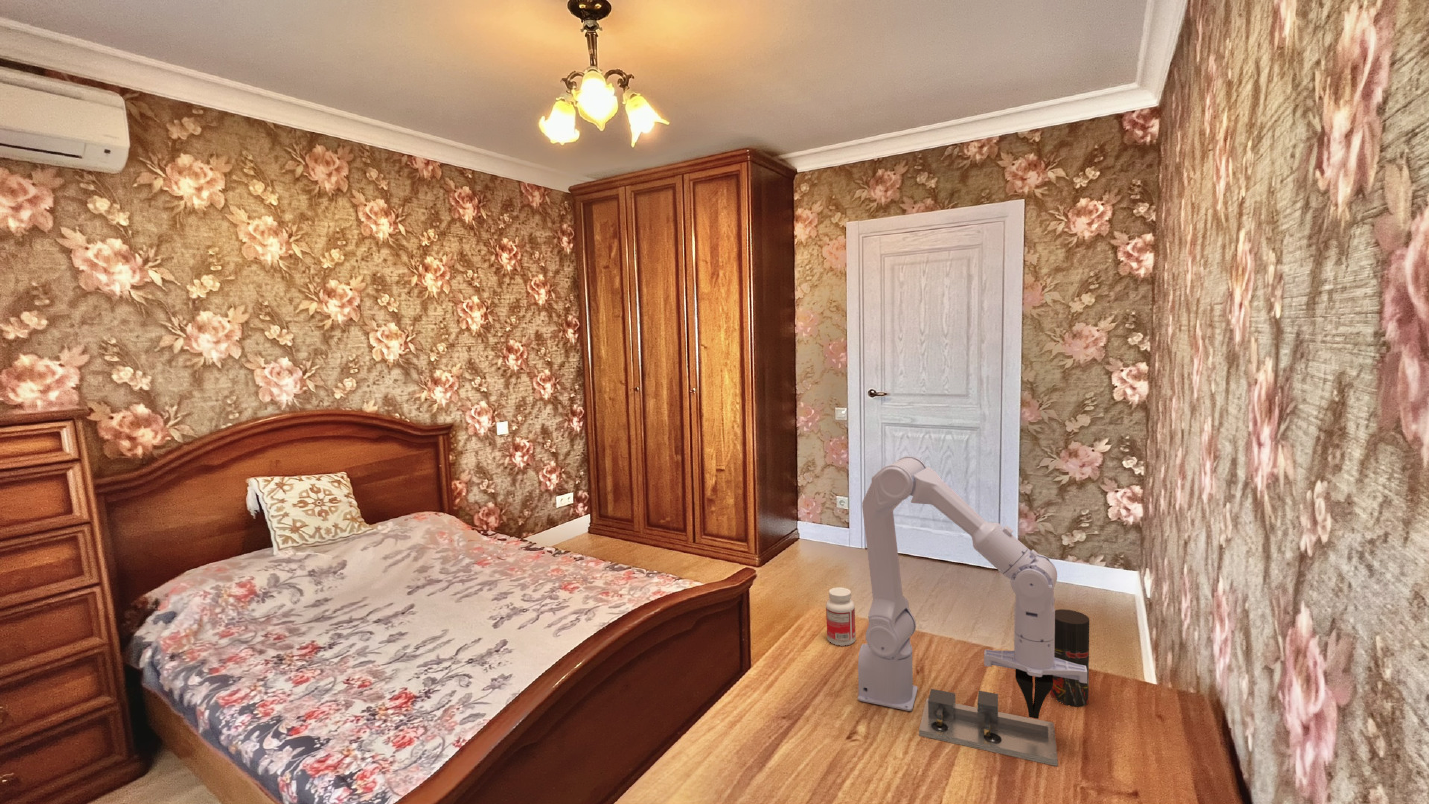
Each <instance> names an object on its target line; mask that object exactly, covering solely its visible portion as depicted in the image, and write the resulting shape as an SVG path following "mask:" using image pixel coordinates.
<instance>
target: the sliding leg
mask: <svg viewBox="0 0 1429 804" xmlns="http://www.w3.org/2000/svg"><path fill="white" fill-rule="evenodd" d="M976 703H977V707H976V708H977V712H978V721H983V722H984V735H986V736H990V723H993V724H997V725H998V712H999V694H998V693H995V692H990V691H989V692H988V691H983V690H978V693H977V702H976Z"/></svg>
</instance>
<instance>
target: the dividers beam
mask: <svg viewBox="0 0 1429 804" xmlns="http://www.w3.org/2000/svg"><path fill="white" fill-rule="evenodd" d="M928 698H929V699H928V718H933V719H937V725H939V726H942V721H947V722H952V723H954V719H957V720H962V721H967V722H972V723H976V724H981V725H984V722H983V721H978V713H977V712H972V711H967V710H962V709H957V708H956V704H957V703H956V692H951V691H945V690H941V689H936V688H935V689H934V688H930V692H929V696H928ZM990 726H991V727H996V728H1001V729H1005V730H1010V731H1015V732H1020V733H1025V734H1030V735H1034V736H1039V737H1044V738H1048V727H1047V726H1042V725H1037V724H1032V723H1027V722H1022V721H1017V720H1012V719H1007V718H1002V717H998V725H997V724H993V723H990Z"/></svg>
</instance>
